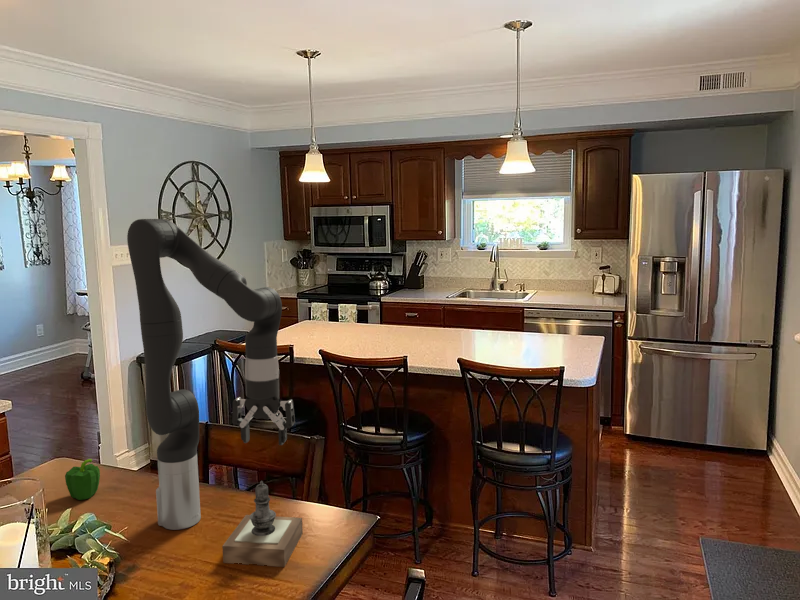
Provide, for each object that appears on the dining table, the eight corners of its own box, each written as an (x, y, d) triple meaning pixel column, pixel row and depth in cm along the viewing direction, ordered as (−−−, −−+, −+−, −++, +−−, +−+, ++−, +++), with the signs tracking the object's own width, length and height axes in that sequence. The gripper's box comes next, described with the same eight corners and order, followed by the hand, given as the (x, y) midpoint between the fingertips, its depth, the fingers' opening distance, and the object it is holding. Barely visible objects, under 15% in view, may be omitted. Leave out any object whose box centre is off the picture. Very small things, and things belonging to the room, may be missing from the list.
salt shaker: (270, 537, 136) (268, 487, 134) (245, 535, 137) (243, 485, 136) (280, 524, 142) (278, 476, 140) (257, 522, 143) (254, 474, 141)
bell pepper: (67, 506, 161) (64, 470, 159) (66, 493, 168) (63, 459, 166) (102, 498, 165) (99, 463, 163) (100, 487, 172) (97, 453, 171)
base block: (223, 562, 134) (222, 544, 134) (246, 530, 148) (245, 513, 147) (284, 566, 132) (284, 548, 132) (302, 533, 146) (302, 516, 146)
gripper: (225, 378, 136) (228, 447, 139) (287, 381, 134) (288, 451, 137) (238, 369, 144) (241, 435, 146) (297, 372, 142) (298, 438, 144)
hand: (264, 442), depth 141 cm, fingers open, 8 cm apart
